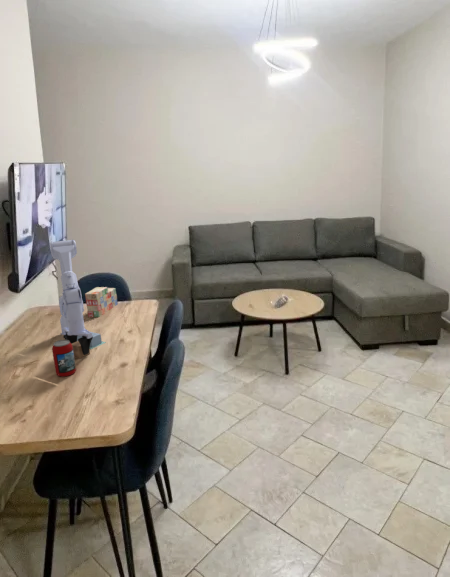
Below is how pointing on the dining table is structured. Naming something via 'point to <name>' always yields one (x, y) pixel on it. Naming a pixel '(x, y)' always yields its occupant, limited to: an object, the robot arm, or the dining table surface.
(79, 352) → the walnut cube
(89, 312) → the stack of blocks
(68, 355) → the beverage can
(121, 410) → the dining table surface
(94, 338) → the base block
